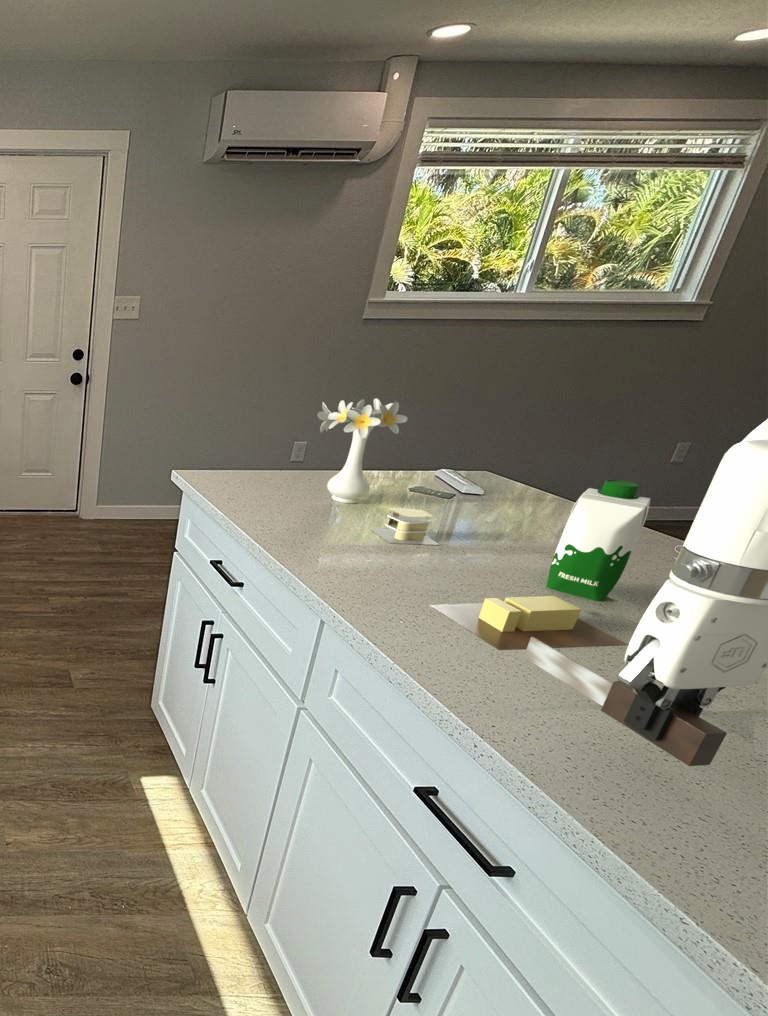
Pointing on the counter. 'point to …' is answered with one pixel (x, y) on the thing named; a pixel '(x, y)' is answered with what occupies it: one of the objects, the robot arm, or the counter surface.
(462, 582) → the counter surface
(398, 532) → the stacked layers on plate
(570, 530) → the milk carton
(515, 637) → the cutting board
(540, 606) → the butter stick
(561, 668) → the knife
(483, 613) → the butter pat
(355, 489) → the flower vase
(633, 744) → the counter surface
